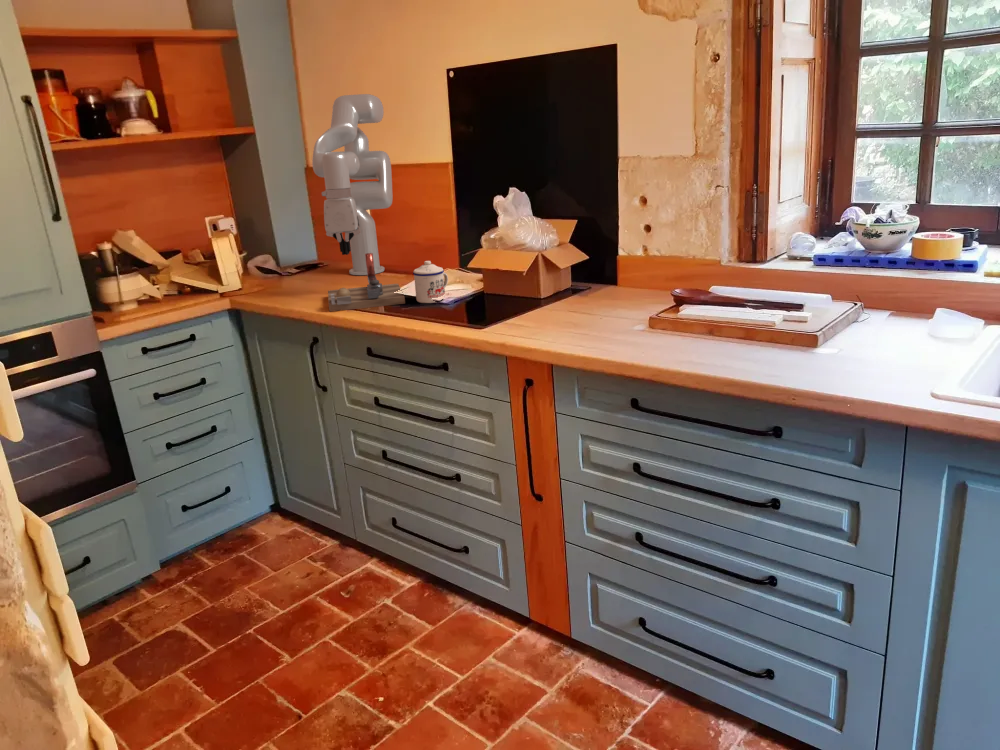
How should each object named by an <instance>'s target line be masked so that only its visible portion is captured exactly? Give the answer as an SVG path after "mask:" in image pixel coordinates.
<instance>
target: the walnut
mask: <svg viewBox="0 0 1000 750" xmlns="http://www.w3.org/2000/svg"><path fill="white" fill-rule="evenodd" d="M348 289H349V288H346V287H340V288H339V289H337V290H338V291H337V293H336V296H337V297H344V296H350V292H349V290H348Z"/></svg>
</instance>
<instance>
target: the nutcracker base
mask: <svg viewBox="0 0 1000 750" xmlns="http://www.w3.org/2000/svg"><path fill="white" fill-rule="evenodd" d="M369 282H370V284H371V285H375V284H379V283H380V280H379V279H377V280H371V281H369ZM369 282H368V283H369ZM347 289H348V290H349V292H350V296H344V297H337V296H336V293H337V291H338V290H339V289H332V290H331V289H329V290H327V292H328V293H327V295H328V296H327V298H328V299H327V300H328V310H329V312H338V311H347V310H355V309H356V310H357V309H358V310H359V309H367V308H376V307H377V308H378V307H384V306H394V305H403V304H406V299H405V298H406V297H405V295H404V293H403V294H397V293H394V292H396V291H398V290H400V289H401V287H400V284H399V283H391V284H382V289H383V291H381V292H380V293H381V294H378V296H379V298H372V299H368V293H367V289H368V288H367V286H361V287H350V288H347Z"/></svg>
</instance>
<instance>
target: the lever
mask: <svg viewBox="0 0 1000 750" xmlns="http://www.w3.org/2000/svg"><path fill="white" fill-rule="evenodd" d="M365 258H366V267H367V275H366V276H367V282H368V284H367V286H366V287H367V288H368V289H367V293H368V299H372V298H379V296H378V294H381V293H380V292H381V291H383V289H382V285H383V283H381V282H379V284H375V285H371V284H370V282H369V281H371V280H378V279H377V276H376V274H375V269H374V260H373V253H366V254H365Z"/></svg>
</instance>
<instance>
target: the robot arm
mask: <svg viewBox="0 0 1000 750" xmlns="http://www.w3.org/2000/svg"><path fill="white" fill-rule="evenodd" d="M384 113H385V112H384V105H383V103H382V101H381V99H380V98H379V97H378V96H375V95H374V94H369V93H361V94H358V93H357V94H345V95H344V94H343V95H340V96H337V98H336V99H334V101H333V104H332V114H331V123H330V127H329V128H328V129H327V130H326V131H324V132H323V133H322V134H321V135H320V136H319V137H318V138H317V139H316V141H315V143H314V145H313V151H312V152H313V153H312V159H311V160H312V169H313V173H314V174H315V175H316V176H318V177H319V178H324V187H325V190H324V191H321V196H322V197H325V198H326V199H324V202H323V221H324V229H325V232H326V233H325V235H326V236H327V237H331V238H334V239H335V240H336V241H337V242H338V243H339V250H340V253H341V255H342V256H345V255H347V256H348V255H349V254H350V253H351V261H352V268H350V269H349V272H348V273H349V274H350V275H352V276H367V267H366V258H365V254H366V253H373V260H374V269H375V275H377V274H380V273H383V272H384V271H385V267H384V266H383V265H380V256H379V255H380V254H379V248H378V247H379V246H378V237H377V230H376V221H375V220H374V218H373V216H372V215H371V214H370V213H369V212H368V210H380V209H382V210H383V209H389V208H390V207H391V206H392V205H393V197H394V196H393V178H392V177H393V176H392V175H393V174H392V173H393V172H392V163H391V158H390V156H389V154H388V153H387V152H386V151H383V150H370V144H369V142H370V141H369V138H368V136H367V135H366V133H365V132H364V131H363V130H362V129H361V128H360V127H359V125H362V124H377V123H380V122H381V121H382V120H383V118H384ZM358 124H359V125H358ZM343 147H344V148H343ZM340 148H343V149H344V151H335V150H338V149H340ZM350 180H356V181H355V182H351V181H350ZM367 180H368V181H367ZM369 180H371V181H369ZM343 233H344V235H343Z"/></svg>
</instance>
